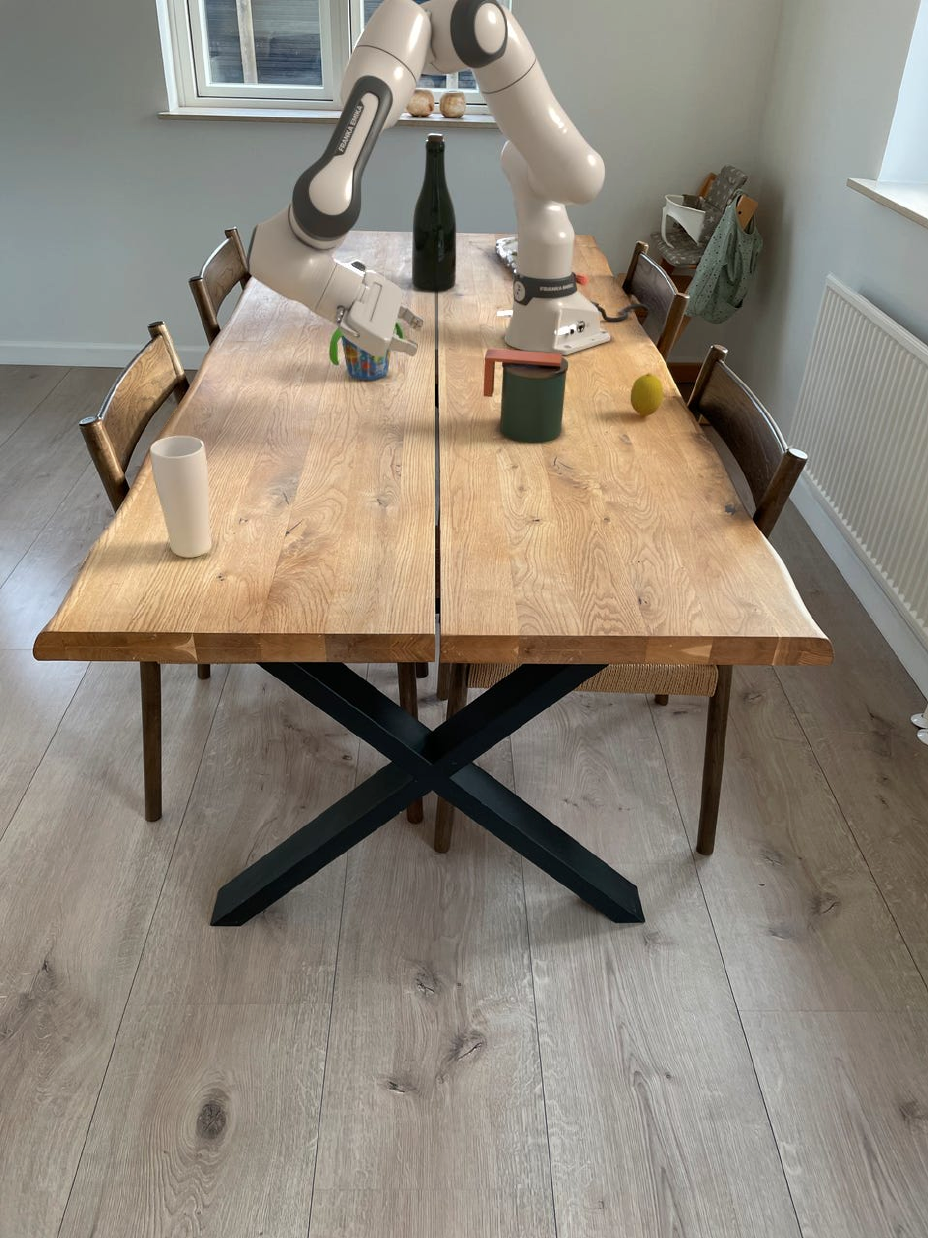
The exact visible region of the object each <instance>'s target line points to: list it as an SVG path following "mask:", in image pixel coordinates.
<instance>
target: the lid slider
mask: <svg viewBox="0 0 928 1238" xmlns="http://www.w3.org/2000/svg"><path fill="white" fill-rule="evenodd" d="M562 357H563V355H562V354H556V353H542V352H528V351H525V350H515V349H514V350H512V349H500V348H499V349H498V348H487V349H486V353H485V355H484V374H483V397H485V398H492V397H493V394H494V392H495V391H494V389H495V371H496V370H495V369H496V363H502V362H506V363H520V364H533V365H547V366H561V359H562Z"/></svg>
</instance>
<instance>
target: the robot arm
mask: <svg viewBox="0 0 928 1238" xmlns="http://www.w3.org/2000/svg"><path fill="white" fill-rule="evenodd" d="M469 70H471V74H472V76H473V79H474V81H475V83H476V85H477V87H478V89H479V91H480V93H481V95H482V98H483V99H484V102H485V103H486V106H487V108H488V109H489V111H490V113H491V116H492V118H493V120H494V121H495V123H496V126H497V127H498V129H499V130H500V132H501V133H502V134H503V135H504V136H505V137H506V138H507V141H506V142H505V144H504V146H503V148H502V151H501V156H500V165H501V169H502V173H503V174H504V176H505V178H506V180H507V181H508V184H509V187H510V191H511V196H512V200H513V206H514V210H515V216H516V225H517V238H518V249H517V269H516V270H515V271H514V276H513V284H512V287H513V288H512V294H513V303H512V309H511V310H503V311H497V316H507V315H510V319H509V323H508V327H507V330H506V333H505V335H504V342H505V343H506V344H507V345H508V346H510V347H513V348H515V349H517V350H520V351H543V352H549V353H556V354H562V356H568V355H570V354H574V353H577V352H581V351H583V350H586V349H589V348H592V347H595V346H598V345H601V344H604V343H608V342H610V341H611V335H610V333H609V332H608V331H607V330H605V328H602V327H601V317H602V319H603V320H604V321H606V322H609V323H617V322H622V321H625V320H627V319H628V317H629V315H628V313H627V312H629V311H631V310H635V309H644V310H645V311H648V312H649V311H651V308H650V307H649V306H648V305H647V304H645V303H640V302H639V303H634V304H630V305H628V306H626V307H624V308H622V309H621V311H620V313H621V315H622V316H618V317H609V316H607V315H608V314H607V313H606V310H605V308H603V307H602V306H600V303H598V302H596V301H591V300H589V298H587V297H586V296H584V295H583V294H582V293H581V292H580V291H579V290H578V286H577V284H579V285H580V286H582V287H583V286H586V285H587V284H588V282H589V277H588V276H587V275H586V274H583V273H580V272H579V273H578V274H576V272H574V271H573V261H574V251H575V240H576V239H575V238H576V236H575V229H574V227H573V225H572V223H571V221H570V219H569V216H568V213H567V210H566V206H584V205H587V204H589V203H590V202H592V201H593V200H595V199H596V197H598V195H599V193H601V190H602V188H603V187H604V183H605V179H606V167H605V162H604V160H603V158H602V156H601V155H600V154H599V153H598V152H597V151H596V150H595V149H594V148H592V147H591V145H590V144H589V143H588V142H587V141H586V139H584V137H583V136H582V135H581V133H580V131H579V130H578V129H577V128H576V127H577V126H575V124H574V123H573V122H572V120H571V118H569V116H568V114H567V113H566V112H565V110H564V109H563V108H562V106H561V105H560V103H559V101H558V100H557V98H556V97H555V94H554V93H553V91H552V89H551V87H550V85H549V82H548V81H547V78H546V76H545V73H544V71H543V69H542V67H541V64H540V62H539V60H538V58H537V55H536V54H535V51H534V49H533V47H532V45H531V43H530V41H529V39H528V37H527V35H526V34H525V32H524V30H523V29H522V27H521V25H520V24H519V22H518V21H517V19H516V18H515V16H514V15H513V13H512V12H511V11H510V9H509V8H508V7H506V6H505V5H503V4H500V3H499V2H498V1H497V0H427V1H425V2H423V3H417V2H416V1H414V0H383V1H382V2H381V3H380V4H379V5H378V7H377V8H376V9H375V11H374V12H373V13H372V15H371V17H370V18H369V20H368V21H367V23H366V24H365V27H364V28H363V29H362V31H361V33H360V35H359V37H358V39H357V41H356V43H355V45H354V47H353V49H352V52H351V55H350V57H349V59H348V62H347V64H346V68H345V70H344V74H343V78H342V81H341V87H340V91H339V98H340V101H341V104H342V109H341V110H342V111H341V113H340V116H339V118H338V120H337V123H336V125H335V127H334V130H333V131H332V134H331V137H329V141H328V143H327V145H326V148H325V149H324V151H323V153H322V155H321V156H320V158H318V159H317V160H316V161H315V162H314V163H313V164H312V165H310V166H309V167H308V168H307V169H305V171H304V172H302V174H300V175H299V177H298V178H297V180H296V181H295V183H294V186H293V190H292V197H291V202H289V203H288V205H286V206H285V207H284V208H283V209H282V210H280V211H279V212H277V214H275V215H274V216H272V217H270V218H269V219H267V220H265V221H263V222H260V223H257V224H256V225H255V226H254V228H253V231H252V233H251V234H252V235H251V237H250V241H249V245H248V249H247V253H246V259H245V262H246V263H245V264H246V268H247V270H248V273H249V275H251V276H252V277H253V278H254V279H255V281H257V282H259V283H260V284H262V285H264V286H265V287H266V288H268V289H270V290H271V291H273V292H274V293H277V294H278V295H280V296H282V297H283V298H286V299H287V300H289V301H295V302H298V303H300V304H302V305H304V307H306V308H307V309H308V310H309V311H310V312H312V313H313V314H316V315H317V316H319V317H321V318H323V319H324V320H326V321H328V322H330V323H331V324H334V325H335V326H336V327H337V328H338V329H339V330H340V331H341V332H342V335H343V336H344V337H345V338H346V339H347V340H349V341H350V342H352V343H353V344H355V345H356V346H358V347H359V348H361V349H363V350H364V351H366V352H367V353H369V354H371V355H373V356H375V357H383V356H384V354H385V352H386V350H387V349H390V350H391V352H396V353H398V352H399V353H404V354H406V355H408V356H410V357H415V355H416V354H417V352H418V350H419V349H418V348H419V344H418V343H417V342H415V341H413V340H412V339H411V338H410V339H408V340H407V339H405V338H404V339H400V338H399V336H398V335H396V334H397V333H395V331H394V329H395V330H396V327H395V325H396V322H397V321H398V319H399V320H401V319H402V320H403V321H404V322H406V323H407V324H408V325H409V328H411V329H413V330H415V331H417V332H419V331H421V329H422V327H423V326H424V322H425V320H424V318H423V317H421V316H420V315H417V314H416V313H415V312H414V310H412V309H411V308H410V307H409V305H406V304H405V303H404V302H403V299H404V296H405V295H404V294H405V293H404V291H403V289H402V288H400V286H399V285H397V284H396V283H394V282H393V281H391V280H389V279H388V278H386V277H385V276H384V275H381V274H379V273H378V272H376V271H374V270H372V269H368V265H367V264H366V263H365V262H364V261H361V260H359V259H355V260H353V261H351V262H348V263H342V262H340V261H338V260H337V259H335V258H334V255H333V254H334V253H335V252H336V251H337V250H338V249H339V248H340V247H341V246H342V244H344V242H345V240H346V238H347V237H348V235H349V233H350V231H351V229H352V228H353V227H354V226H355V225H356V223H357V222H358V219H359V217H360V215H361V210H362V178H363V175H364V173H365V169H366V167H367V165H368V163H369V160H370V158H371V156H372V153H373V151H374V149H375V146H376V144H377V141H378V139H379V137H380V136H381V133H382V132H383V131H384V130H387V129H389V128H392V127H393V126H395V125H396V124H397V122H398V121H399V119H400V118H401V117H402V115H403V114H404V112H405V110H406V108H407V107H408V105H409V103H410V102H411V99H412V98H413V95H414V94H415V91H416V89H417V86H418V84H419V81H420V79H421V77H429V76H448V75H455V74H457V73H461V72H464V71H469ZM600 313H601V314H600ZM393 332H394V333H393Z"/></svg>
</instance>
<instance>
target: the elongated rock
mask: <svg viewBox="0 0 928 1238" xmlns="http://www.w3.org/2000/svg"><path fill="white" fill-rule="evenodd" d="M517 249H518V237H509V236H507V237H502V238H500V239H498V240H497V241H496V244H495V251H496V252H495V254H496V255H497V256H498V257H499V258H500V259H499V260H500V263H502V264H503V265H504V268H506V269H507V271H509V272H510V273H511V274H512V276H513V277H514V271H515V270H516V269H517Z"/></svg>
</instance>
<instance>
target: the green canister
mask: <svg viewBox="0 0 928 1238" xmlns="http://www.w3.org/2000/svg"><path fill="white" fill-rule="evenodd" d="M528 352H542V353H549V352H543V351H528ZM501 368H502V379H501V380H502V381H501V396H500V397H501V400H500V418H499V419H500V420H499V432H500V433H501V434H502V435H503V437H505V438H507V439H509V440H512V441H515V442H519V443H526V444H543V443H547V442H551V441H554V440H556V439H558V438H559V437H560V436H561V434H562V428H563V427H562V426H563V417H564V416H563V414H564V404H565V403H564V402H565V393H566V382H567V381H566V380H567V372H568V369H569V361H568V359H566V358H565V357H563V356H562V359H561V366H547V365H533V364H520V363H506V362H501Z"/></svg>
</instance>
